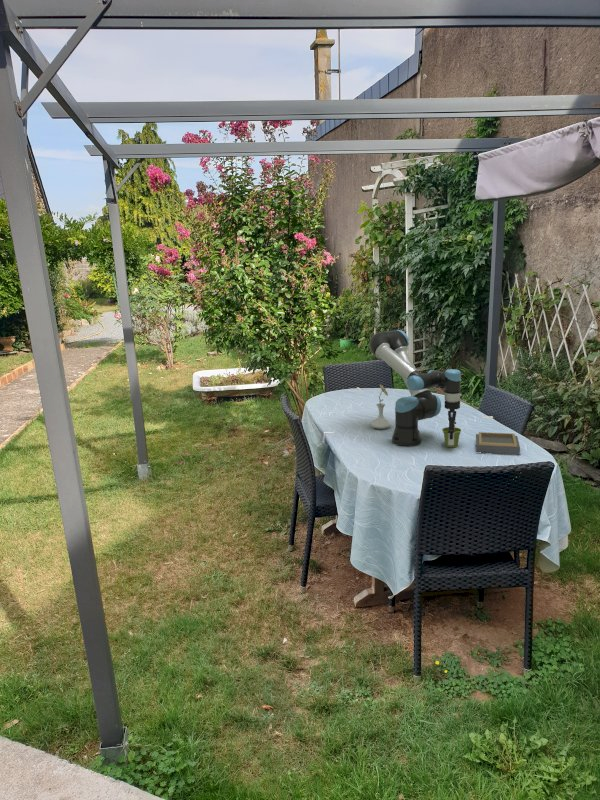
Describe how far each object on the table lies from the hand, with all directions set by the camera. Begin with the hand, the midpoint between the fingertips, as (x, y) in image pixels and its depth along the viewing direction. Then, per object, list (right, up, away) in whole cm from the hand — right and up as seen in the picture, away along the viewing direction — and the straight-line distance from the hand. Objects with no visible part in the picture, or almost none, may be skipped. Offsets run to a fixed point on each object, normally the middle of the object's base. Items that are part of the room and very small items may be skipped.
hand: (451, 440), depth 290 cm
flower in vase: (-31, +5, +37) cm, 48 cm away
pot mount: (+21, -3, -6) cm, 22 cm away
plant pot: (0, -3, +1) cm, 3 cm away
